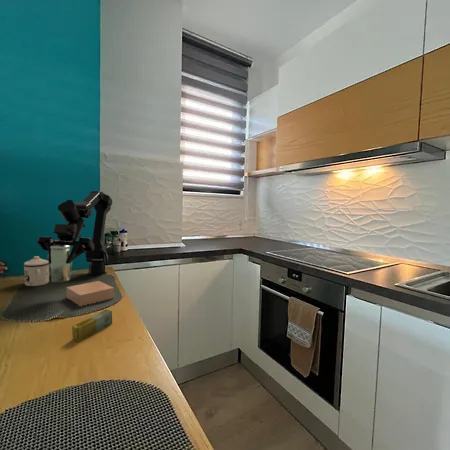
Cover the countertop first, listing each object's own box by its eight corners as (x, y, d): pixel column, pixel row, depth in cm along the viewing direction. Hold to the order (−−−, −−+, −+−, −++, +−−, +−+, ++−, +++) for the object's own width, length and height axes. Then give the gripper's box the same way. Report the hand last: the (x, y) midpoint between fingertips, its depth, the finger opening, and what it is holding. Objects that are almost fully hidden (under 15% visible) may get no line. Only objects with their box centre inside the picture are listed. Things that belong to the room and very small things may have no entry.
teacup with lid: (23, 282, 118) (22, 255, 117) (48, 279, 123) (47, 253, 122) (25, 289, 108) (24, 261, 107) (52, 286, 114) (51, 258, 113)
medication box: (105, 322, 84) (105, 309, 83) (112, 323, 83) (112, 310, 82) (71, 340, 72) (71, 325, 72) (79, 342, 72) (79, 327, 71)
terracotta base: (98, 290, 111) (98, 280, 111) (113, 298, 103) (113, 287, 103) (66, 297, 102) (66, 287, 101) (80, 306, 94) (80, 295, 94)
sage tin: (65, 276, 105) (64, 243, 104) (74, 279, 102) (73, 245, 101) (47, 280, 100) (46, 245, 99) (56, 283, 97) (55, 247, 95)
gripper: (39, 215, 102) (20, 249, 92) (91, 216, 103) (78, 251, 93) (51, 233, 111) (35, 266, 101) (99, 234, 112) (88, 267, 102)
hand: (58, 263), depth 99 cm, fingers closed on sage tin, 6 cm apart
